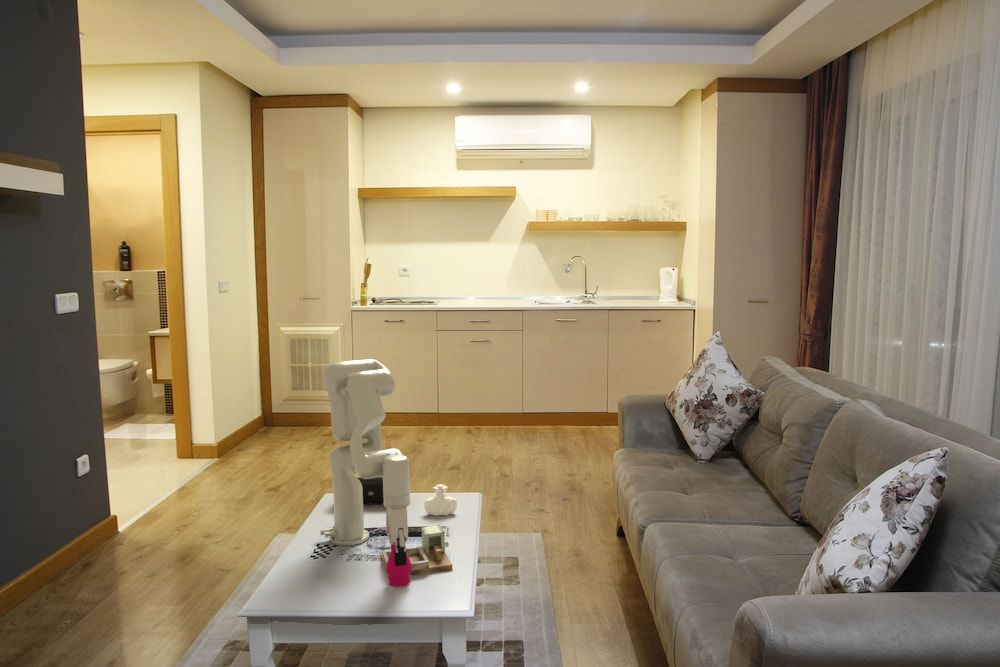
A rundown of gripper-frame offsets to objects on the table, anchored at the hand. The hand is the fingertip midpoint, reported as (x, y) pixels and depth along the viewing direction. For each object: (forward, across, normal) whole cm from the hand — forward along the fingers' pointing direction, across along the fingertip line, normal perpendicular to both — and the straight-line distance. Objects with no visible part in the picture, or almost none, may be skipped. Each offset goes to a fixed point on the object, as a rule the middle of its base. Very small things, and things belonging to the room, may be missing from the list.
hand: (398, 560), depth 203 cm
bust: (+7, -50, +24) cm, 56 cm away
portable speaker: (+7, -69, +2) cm, 70 cm away
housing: (+5, -16, +13) cm, 21 cm away
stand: (+7, -11, +7) cm, 15 cm away
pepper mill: (+7, 0, 0) cm, 7 cm away
